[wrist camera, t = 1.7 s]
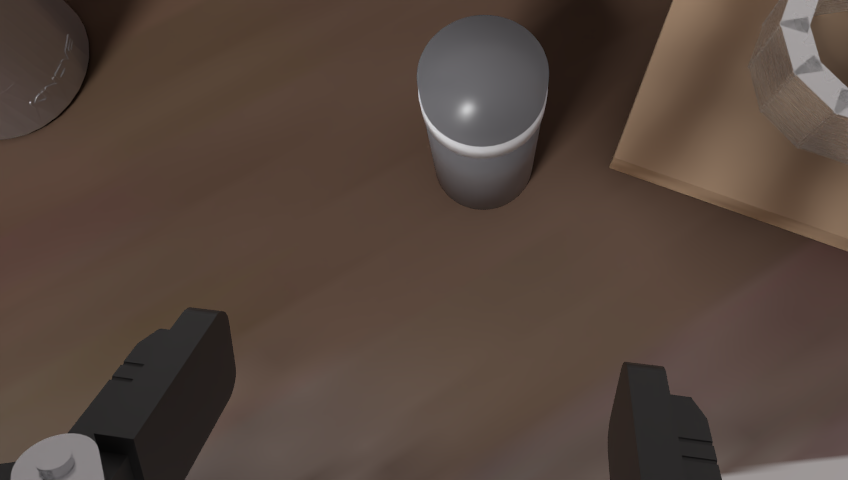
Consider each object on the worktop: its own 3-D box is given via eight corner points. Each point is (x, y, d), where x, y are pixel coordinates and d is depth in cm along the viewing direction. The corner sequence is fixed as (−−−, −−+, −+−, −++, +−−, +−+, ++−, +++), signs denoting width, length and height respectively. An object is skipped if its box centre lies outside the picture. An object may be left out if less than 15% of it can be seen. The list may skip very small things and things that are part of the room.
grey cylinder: (418, 190, 37) (394, 111, 27) (456, 103, 38) (445, -3, 28) (512, 224, 36) (522, 156, 26) (547, 135, 37) (569, 37, 27)
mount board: (608, 167, 36) (613, 157, 35) (707, -92, 39) (715, -112, 38) (983, 298, 33) (1005, 293, 32) (1058, 6, 36) (1082, -11, 35)
